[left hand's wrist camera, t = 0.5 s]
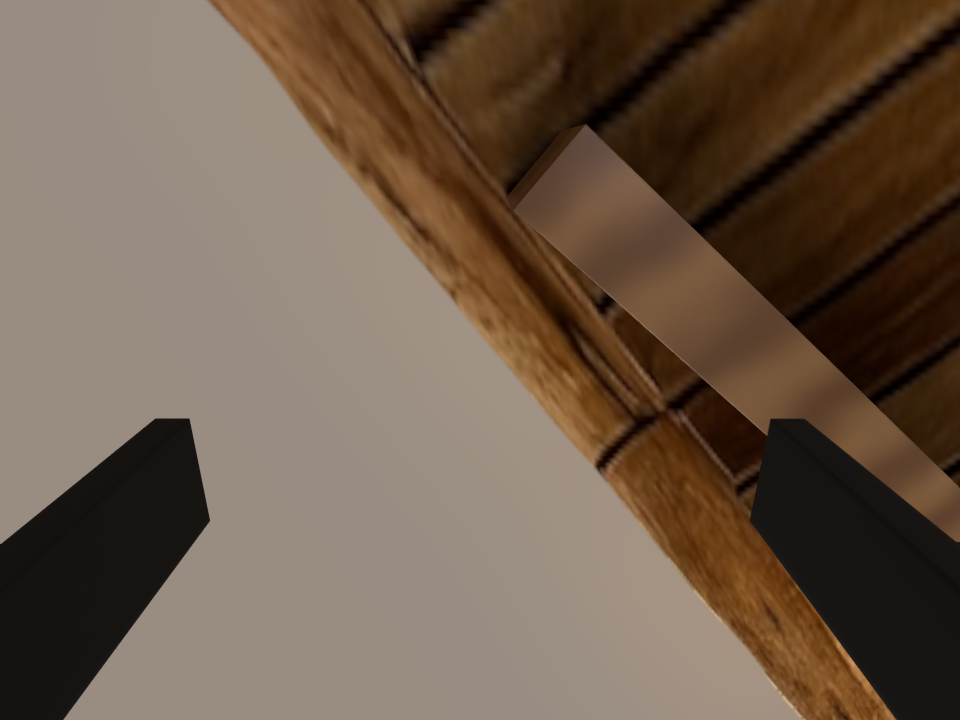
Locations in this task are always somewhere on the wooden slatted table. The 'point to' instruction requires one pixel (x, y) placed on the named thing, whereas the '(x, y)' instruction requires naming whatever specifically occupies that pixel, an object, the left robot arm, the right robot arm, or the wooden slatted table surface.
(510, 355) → the wooden slatted table surface
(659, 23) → the wooden slatted table surface
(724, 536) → the wooden slatted table surface
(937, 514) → the beam
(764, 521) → the left robot arm
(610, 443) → the wooden slatted table surface
